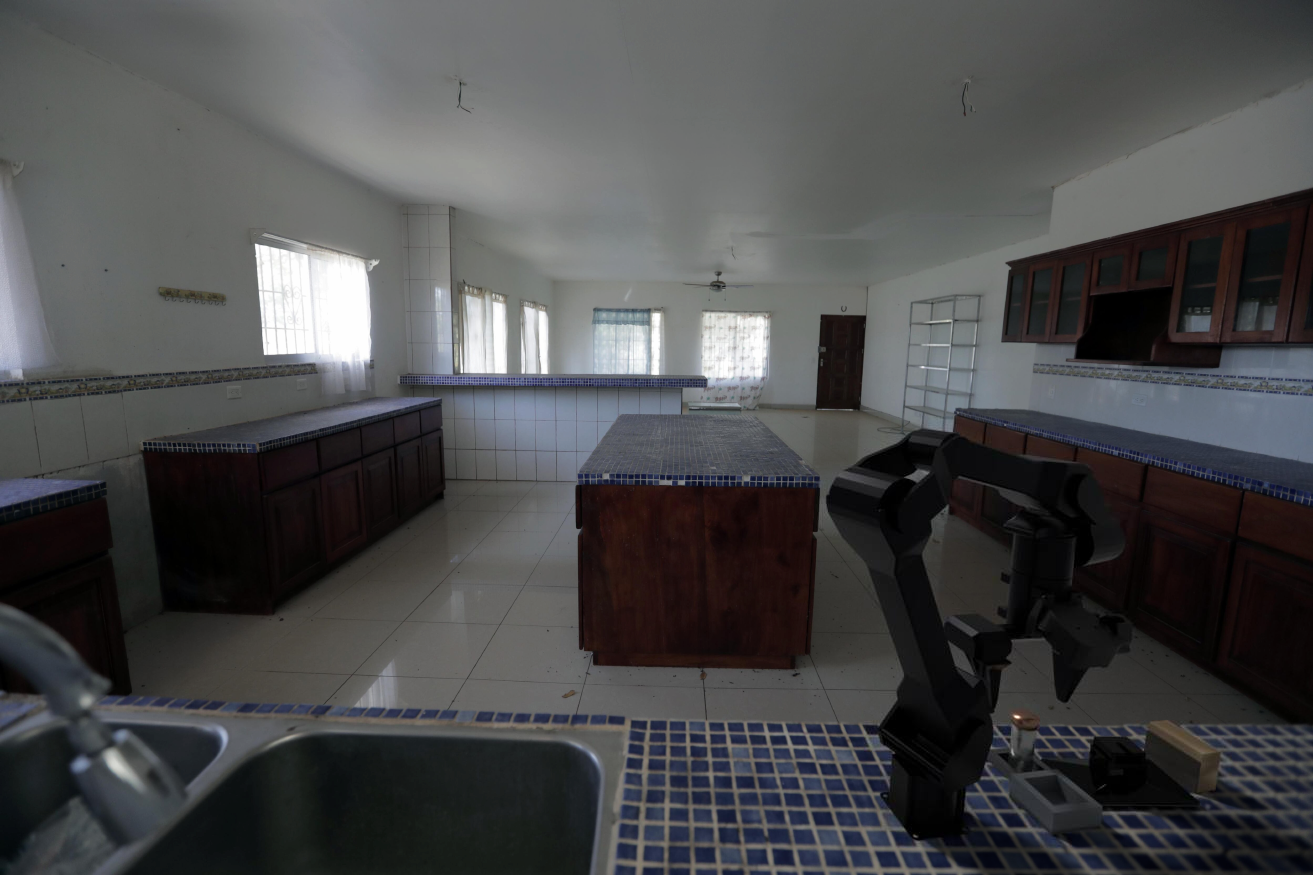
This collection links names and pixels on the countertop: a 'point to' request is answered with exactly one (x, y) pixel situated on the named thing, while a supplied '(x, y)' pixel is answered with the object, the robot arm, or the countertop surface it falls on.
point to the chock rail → (1182, 756)
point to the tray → (1055, 801)
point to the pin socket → (999, 761)
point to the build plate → (1121, 775)
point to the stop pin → (1023, 740)
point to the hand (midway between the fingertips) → (1026, 703)
